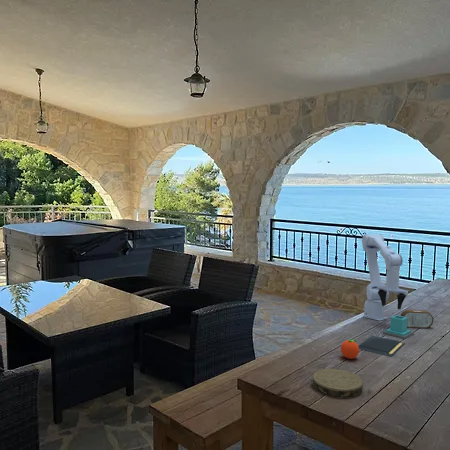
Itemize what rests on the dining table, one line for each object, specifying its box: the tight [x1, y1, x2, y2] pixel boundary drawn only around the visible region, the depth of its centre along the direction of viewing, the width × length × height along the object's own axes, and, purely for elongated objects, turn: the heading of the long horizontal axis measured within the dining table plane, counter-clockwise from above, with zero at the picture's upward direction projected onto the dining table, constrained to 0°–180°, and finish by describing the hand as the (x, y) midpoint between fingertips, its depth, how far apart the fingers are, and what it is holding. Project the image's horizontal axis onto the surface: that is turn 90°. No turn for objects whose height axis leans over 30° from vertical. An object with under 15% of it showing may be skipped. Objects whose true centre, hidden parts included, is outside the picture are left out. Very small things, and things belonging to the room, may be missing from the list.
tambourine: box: [312, 368, 364, 399], centre depth 139 cm, size 16×16×3 cm
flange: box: [386, 314, 412, 336], centre depth 194 cm, size 8×8×7 cm
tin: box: [400, 309, 434, 329], centre depth 205 cm, size 15×3×8 cm, turn 84°
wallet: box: [358, 335, 406, 358], centre depth 178 cm, size 20×2×15 cm
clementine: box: [340, 339, 360, 360], centre depth 164 cm, size 8×7×7 cm
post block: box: [382, 329, 415, 340], centre depth 194 cm, size 10×10×5 cm
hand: (391, 307), depth 204 cm, fingers open, 7 cm apart
